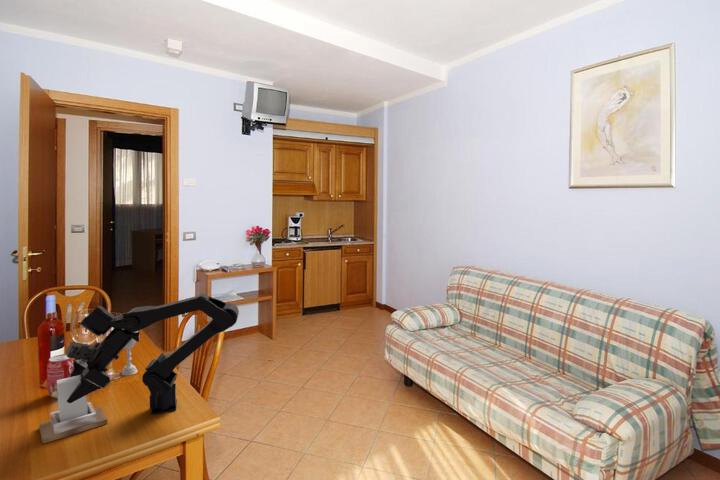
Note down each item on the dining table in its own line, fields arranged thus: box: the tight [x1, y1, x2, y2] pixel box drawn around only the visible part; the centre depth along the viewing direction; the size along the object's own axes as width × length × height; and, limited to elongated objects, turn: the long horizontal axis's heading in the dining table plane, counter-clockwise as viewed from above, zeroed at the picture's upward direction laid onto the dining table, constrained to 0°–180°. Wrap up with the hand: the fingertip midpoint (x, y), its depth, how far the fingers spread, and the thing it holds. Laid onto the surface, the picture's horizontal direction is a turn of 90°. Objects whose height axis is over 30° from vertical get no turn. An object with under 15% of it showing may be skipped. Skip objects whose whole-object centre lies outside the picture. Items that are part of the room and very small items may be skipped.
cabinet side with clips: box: [38, 401, 108, 444], centre depth 108 cm, size 14×9×4 cm, turn 133°
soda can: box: [46, 353, 74, 399], centre depth 125 cm, size 7×7×12 cm
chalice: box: [121, 331, 139, 376], centre depth 141 cm, size 7×7×18 cm
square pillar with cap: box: [52, 375, 88, 423], centre depth 107 cm, size 7×5×12 cm
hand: (65, 395), depth 106 cm, fingers open, 9 cm apart
